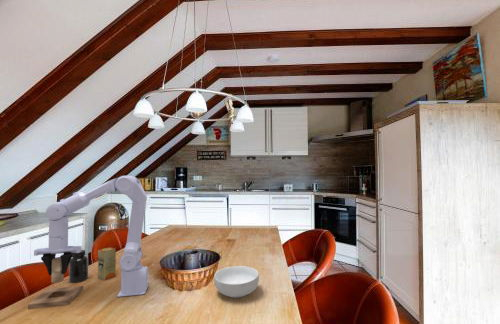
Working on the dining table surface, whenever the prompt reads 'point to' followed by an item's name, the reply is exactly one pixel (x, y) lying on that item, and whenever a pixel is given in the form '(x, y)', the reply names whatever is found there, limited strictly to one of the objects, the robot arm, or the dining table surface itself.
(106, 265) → the shoe polish box
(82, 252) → the supplement bottle
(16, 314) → the dining table surface
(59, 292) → the socket block
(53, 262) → the peg
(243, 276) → the cereal bowl
